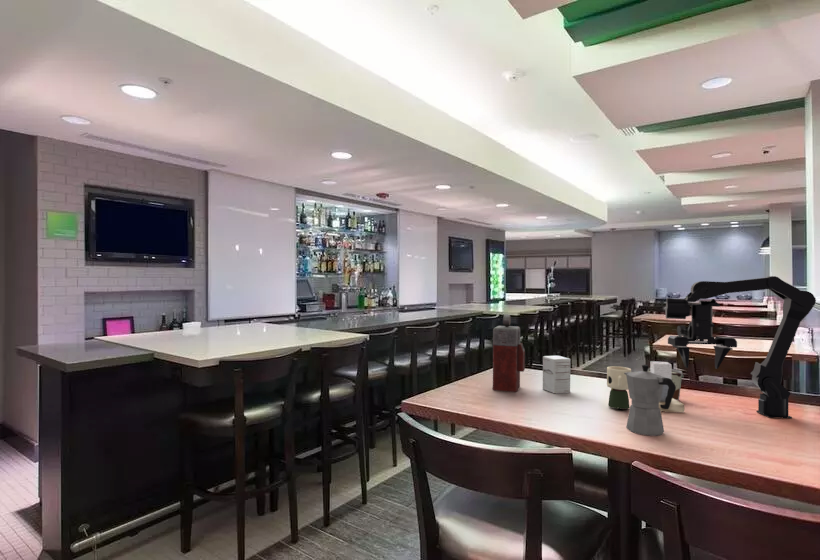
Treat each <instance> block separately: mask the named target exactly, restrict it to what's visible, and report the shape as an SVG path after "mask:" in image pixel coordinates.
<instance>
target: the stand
mask: <svg viewBox="0 0 820 560" xmlns="http://www.w3.org/2000/svg"><path fill="white" fill-rule="evenodd" d="M660 405H665V402H659V408H660V411H665V412H664V413H685V403H682V402H681V401H680V400H675V399H673V398H672V401H671V404H670V407H669V409H663V408H661V407H660Z"/></svg>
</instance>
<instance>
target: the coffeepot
mask: <svg viewBox="0 0 820 560" xmlns="http://www.w3.org/2000/svg"><path fill="white" fill-rule="evenodd" d="M649 366H650V365H648V364H642V365H641V367H642V371H641V370H640V371H631V372H626V373H624V374H625V375H626V376H627V383H628V397H629V399H631V404H630V405H629V406H630V408H629V409H628V410H629V411H628V415H627V421H626V426H625V427H626V429H627V430H628V431H629V432H632V433H634V434H638V435H642V436H643V435H644V436H650V437H657V436H661V435H663V434H664V432H665V430H664V429H665V428H664V422H663V417H662V412H661V411H660V408H659V402H660V401H661V396H662V390H663V385H668V387H669V389H668V392H667V397H666V399H665V405H660V407H661V408H663V409H669V407H670V404H671V401H672V398H673V395H674V392H675V390H676V386H675V384H674V383H673V381H672V380H671V379H670V378H665V377H663V376H660V375H657V374H654V373H651V372H648V369H649V368H650V367H649Z"/></svg>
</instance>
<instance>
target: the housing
mask: <svg viewBox="0 0 820 560" xmlns="http://www.w3.org/2000/svg"><path fill="white" fill-rule="evenodd" d="M649 362H650V365H649V366H650V367H649V368H650V372H651V373H654V374H657V375H660V376H663V377H665V378H670V379H671V380H672V369H673V367H672V365H673V364H671V363H670V362H668V361H657V360H656V361H655V360H651V361H649ZM668 389H669V387H668V385H663V390H662V396H661V401H660V402H665V399H666V397H667V392H668Z"/></svg>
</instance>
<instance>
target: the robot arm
mask: <svg viewBox="0 0 820 560" xmlns="http://www.w3.org/2000/svg"><path fill="white" fill-rule="evenodd" d="M763 290H769V291H770V292H772V293H774V294H775V295H776V296H777V297H779V298H780V299H782V300H783V302H782V303H783V304H782V318H781V320H780V323H779V325H778V328H777V330H776V332H775V335H774V337H773V340H772V343H771V344H770V346H769V349H768V352H767V355H766V356H765V358H764V360H763V361H762V362H761V363H759V362H757V361H755V362H754V363H755V364H754V366H753V367H754V368H753V370H752V371H751V372H750V375H751V380H752V382H753V384H754V385H755V386H757V388H758V389H759V390H760V392H761V393H759V398H758V403H757V404H758V406H757V408H758V410H756V412H755V413H757V414H760V415H762V416H765V417H767V418H771V419H793V417H792V416H791V415H789V398H790V396H791V392H790V391H789V390H788V389H787V388H786V387H784V385H782V381H783V367H784V365H783V364H784V362H785V360H786V358H787V355H788V353H789V350H790V348H791V345H792V344H793V341H794V338H795V336H796V334H797V331H798V329H799V326H800V324H801V322H802V321H803V320H804V319H805V317H807V316H808V315H809V314H810V312H811V311H812V309H813V308H814V306H815V304H816V301H817V299H816V297H815V295H814V294H813V293H811V292H810V291H808V290H801V289H799V288H798V287H796V286H794V285H792V284H790V283H788V282H786V281H784V280H782V279H781V278H780V277H778V276H776V275H775V276H773V275H770V276H766V277H757V278H751V279H740V280H733V281H732V280H731V281H708V280H706V281H705V280H704V281H703V280H702V281H696V282H694V283H693V284H692V285H691V287H690V292H689V293H688V294H687V295H685V298H671V297H667V298H666V303H665V307H664V309H665V310H664V311H665V312H664V313H665V319H667V320H668V319H672V320H686V318H687V317H690V315H691V321H690V322H688V327H686V326H685V325H678V326H677V328H676V333H677V334H676V335H669V336H668V338H667V344H668V345H671V347H672V348H676V350H677V351H678V353H679V356H680V357H681V360H682V363H683V366H684V368H687V369H688V368H689V366H690V365H689V363H690V347H689V346H688V345H713V349H714V351H715V352H714V368H715V369H717V370H718V369H719V368H720V366H721V364H722V363H723V361H724V359H725V357H726V356H727V355H728V353H729V352H730V351H733V350H734V349H733V348H737V347H738V342H737V339H736V338H735V337H730V336H713V328H715V326H716V325H715V323H713V307H720V306H721V304H720V303H719V302H717V301H716V299H715V298H714V297H718V296H719V297H720V296H722V295H726V294H731V293H732V294H733V293H743V292H744V293H745V292H753V291H763ZM708 299H709V300H708ZM698 301H699V302H698ZM695 302H698V303H695Z"/></svg>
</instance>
